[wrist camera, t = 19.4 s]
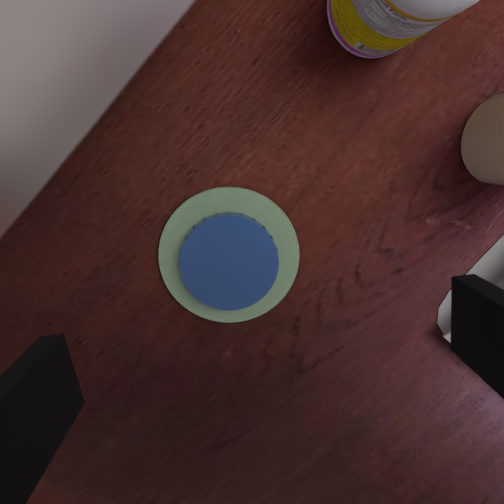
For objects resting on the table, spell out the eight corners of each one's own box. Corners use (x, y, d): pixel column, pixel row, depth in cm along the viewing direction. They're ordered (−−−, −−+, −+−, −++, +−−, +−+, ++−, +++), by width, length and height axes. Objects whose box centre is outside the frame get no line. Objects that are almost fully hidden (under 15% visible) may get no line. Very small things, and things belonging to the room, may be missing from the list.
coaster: (146, 197, 28) (144, 198, 27) (290, 176, 28) (291, 177, 27) (174, 328, 31) (173, 332, 30) (304, 309, 31) (306, 312, 30)
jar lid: (281, 296, 30) (284, 304, 28) (189, 308, 30) (187, 317, 28) (271, 205, 28) (274, 208, 26) (173, 217, 28) (169, 221, 26)
